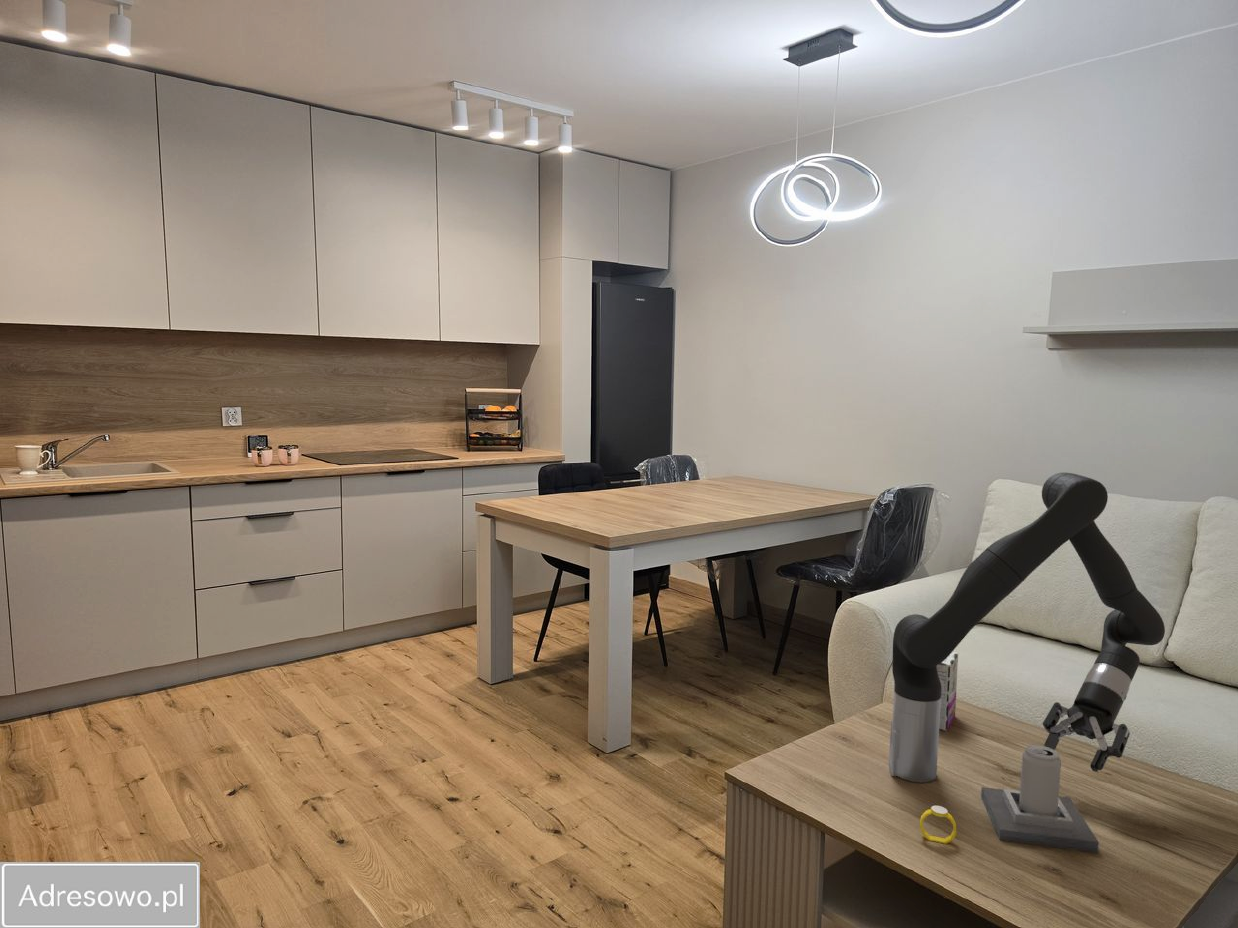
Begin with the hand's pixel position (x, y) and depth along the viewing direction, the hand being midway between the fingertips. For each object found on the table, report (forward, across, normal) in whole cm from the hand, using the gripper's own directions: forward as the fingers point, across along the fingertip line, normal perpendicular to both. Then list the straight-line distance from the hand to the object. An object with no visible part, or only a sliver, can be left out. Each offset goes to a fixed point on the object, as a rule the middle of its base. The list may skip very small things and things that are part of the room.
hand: (1070, 760), depth 157 cm
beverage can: (+13, 0, -3) cm, 13 cm away
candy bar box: (-4, -38, +17) cm, 42 cm away
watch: (+30, -7, -16) cm, 34 cm away
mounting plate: (+15, 0, -2) cm, 15 cm away
